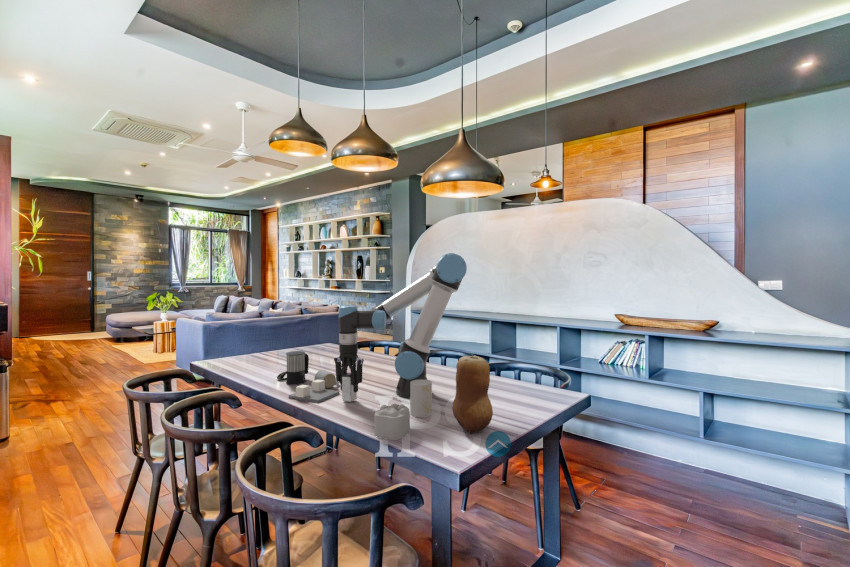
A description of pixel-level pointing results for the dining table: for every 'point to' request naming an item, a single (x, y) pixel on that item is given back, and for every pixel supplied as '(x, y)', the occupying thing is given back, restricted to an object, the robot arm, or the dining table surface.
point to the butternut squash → (472, 394)
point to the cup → (421, 398)
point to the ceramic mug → (326, 378)
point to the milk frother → (295, 367)
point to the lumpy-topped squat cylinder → (392, 422)
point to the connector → (347, 387)
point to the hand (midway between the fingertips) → (349, 399)
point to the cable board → (313, 392)
